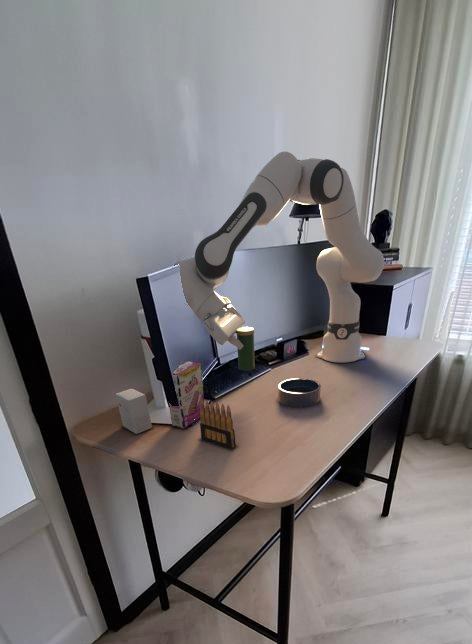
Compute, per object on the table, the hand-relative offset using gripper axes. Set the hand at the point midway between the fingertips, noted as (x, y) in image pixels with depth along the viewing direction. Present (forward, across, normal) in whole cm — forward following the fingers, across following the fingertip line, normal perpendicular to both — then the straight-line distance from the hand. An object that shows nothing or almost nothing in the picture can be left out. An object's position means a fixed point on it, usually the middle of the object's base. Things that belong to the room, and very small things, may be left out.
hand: (245, 344), depth 124 cm
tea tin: (+5, 0, +5) cm, 7 cm away
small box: (-6, -27, +31) cm, 42 cm away
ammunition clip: (+13, -32, +12) cm, 37 cm away
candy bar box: (+3, -20, +22) cm, 30 cm away
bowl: (+24, 0, 0) cm, 25 cm away
